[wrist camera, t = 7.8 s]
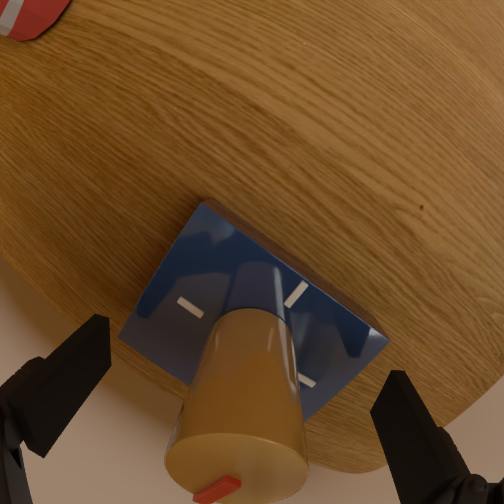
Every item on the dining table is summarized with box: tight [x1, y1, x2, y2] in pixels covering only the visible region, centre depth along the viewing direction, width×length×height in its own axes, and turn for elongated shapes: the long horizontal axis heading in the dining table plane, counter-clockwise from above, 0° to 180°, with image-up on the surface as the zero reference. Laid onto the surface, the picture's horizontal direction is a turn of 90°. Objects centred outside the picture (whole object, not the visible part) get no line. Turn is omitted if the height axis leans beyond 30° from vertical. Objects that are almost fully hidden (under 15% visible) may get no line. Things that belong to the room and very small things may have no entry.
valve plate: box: [118, 198, 390, 422], centre depth 16 cm, size 12×9×3 cm
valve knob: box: [164, 308, 309, 504], centre depth 11 cm, size 4×4×8 cm
